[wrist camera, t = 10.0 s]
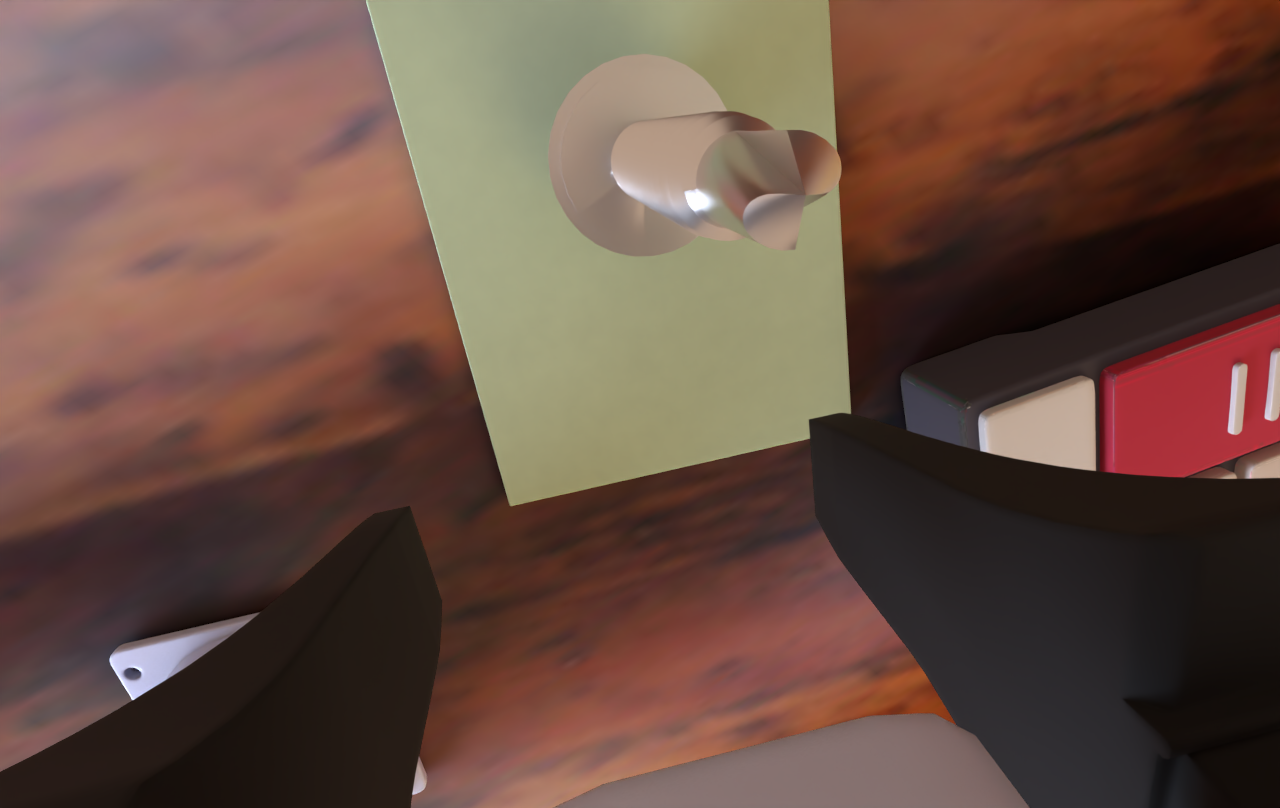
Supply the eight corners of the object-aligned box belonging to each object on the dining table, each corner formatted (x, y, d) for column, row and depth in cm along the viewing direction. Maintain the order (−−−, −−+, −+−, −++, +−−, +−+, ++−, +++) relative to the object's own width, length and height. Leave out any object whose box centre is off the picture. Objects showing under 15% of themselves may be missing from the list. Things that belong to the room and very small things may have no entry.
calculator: (1370, 541, 25) (1002, 688, 24) (1249, 487, 29) (929, 611, 28) (1423, 251, 21) (978, 413, 19) (1273, 235, 25) (896, 368, 23)
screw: (704, 49, 18) (724, 229, 20) (528, 78, 18) (565, 259, 20) (1029, -109, 7) (1005, 362, 8) (531, -33, 6) (621, 444, 8)
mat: (845, 422, 24) (852, 429, 24) (510, 498, 23) (509, 507, 23) (801, -322, 16) (811, -339, 16) (297, -253, 15) (289, -267, 15)
